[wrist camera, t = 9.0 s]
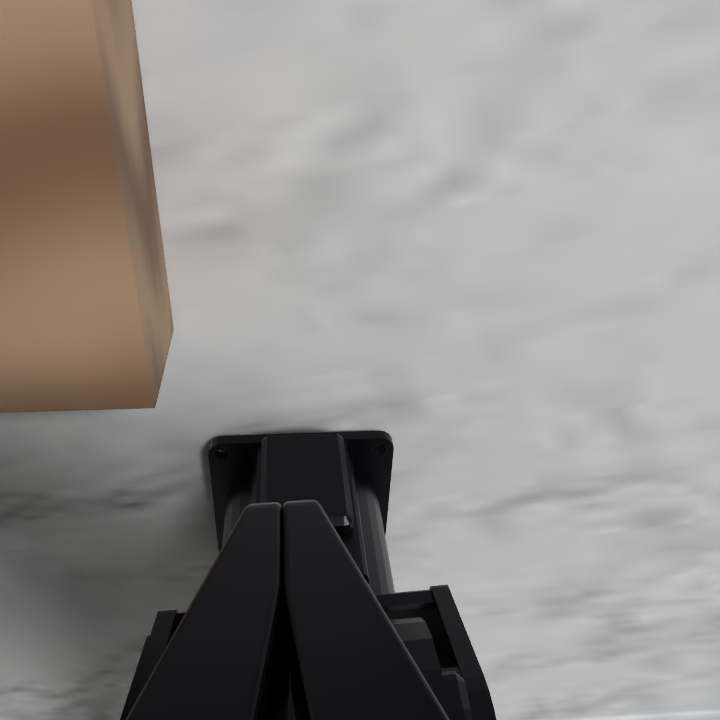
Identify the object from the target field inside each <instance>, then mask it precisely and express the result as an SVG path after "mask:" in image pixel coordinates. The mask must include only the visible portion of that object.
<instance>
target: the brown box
mask: <svg viewBox="0 0 720 720" xmlns="http://www.w3.org/2000/svg"><path fill="white" fill-rule="evenodd" d="M172 334H173V322H172V314H171V306H170V298H169V291H168V283H167V275H166V267H165V259H164V252H163V244H162V236H161V228H160V220H159V213H158V205H157V197H156V189H155V181H154V174H153V166H152V158H151V150H150V142H149V135H148V127H147V119H146V111H145V104H144V96H143V88H142V80H141V72H140V65H139V57H138V49H137V41H136V33H135V26H134V18H133V10H132V2H131V0H0V413H2V412H37V411H71V410H105V409H140V408H155V406H156V402H157V397H158V393H159V389H160V385H161V380H162V376H163V372H164V368H165V363H166V359H167V355H168V351H169V347H170V342H171V338H172Z"/></svg>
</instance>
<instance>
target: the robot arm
mask: <svg viewBox="0 0 720 720" xmlns="http://www.w3.org/2000/svg"><path fill="white" fill-rule="evenodd" d="M379 443H381V444H384V445H382V446H380V447H375V445H376V444H379ZM221 449H226V450H228V452H225V453H224V452H220V451H218V450H221ZM393 449H394V448H393V443H392V438H391V436H390V435H389V434H388V433H386V432H384V431H360V432H330V433H301V434H272V435H242V436H221V437H217V438H215V439H213V440H212V442H211V443H210V447H209V464H210V474H211V483H212V492H213V501H214V511H215V520H216V529H217V539H218V548H219V554H218V556H217V558H216V560H215V562H214V563H213V565H212V567H211V569H210V571H209V572H208V574H207V576H206V578H205V579H204V581H203V583H202V585H201V587H200V588H199V590H198V592H197V594H196V595H195V597H194V599H193V601H192V603H191V604H190V606H189V608H188V610H187V611H186V612H182V613H178V610H168V611H158V613H157V616H156V620H155V623H154V626H153V629H152V632H151V635H149V636H147V638H146V641H145V644H144V647H143V651H142V654H141V657H140V660H139V663H138V666H137V669H136V672H135V675H134V678H133V681H132V684H131V688H130V691H129V694H128V697H127V700H126V703H125V706H124V709H123V712H122V715H121V718H120V720H496V716H495V712H494V707H493V704H492V700H491V696H490V692H489V689H488V686H487V683H486V680H485V678H484V675H483V672H482V670H481V667H480V665H479V662H478V660H477V657H476V655H475V652H474V650H473V647H472V645H471V642H470V640H469V637H468V635H467V632H466V630H465V627H464V625H463V622H462V620H461V617H460V615H459V612H458V610H457V607H456V605H455V602H454V600H453V597H452V594H451V592H450V589H449V587H448V585H440V586H430V589H429V590H420V591H409V592H398V593H395V591H394V585H393V579H392V574H391V568H390V562H389V557H388V551H387V545H386V539H385V533H386V523H387V512H388V502H389V491H390V481H391V470H392V460H393Z"/></svg>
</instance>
